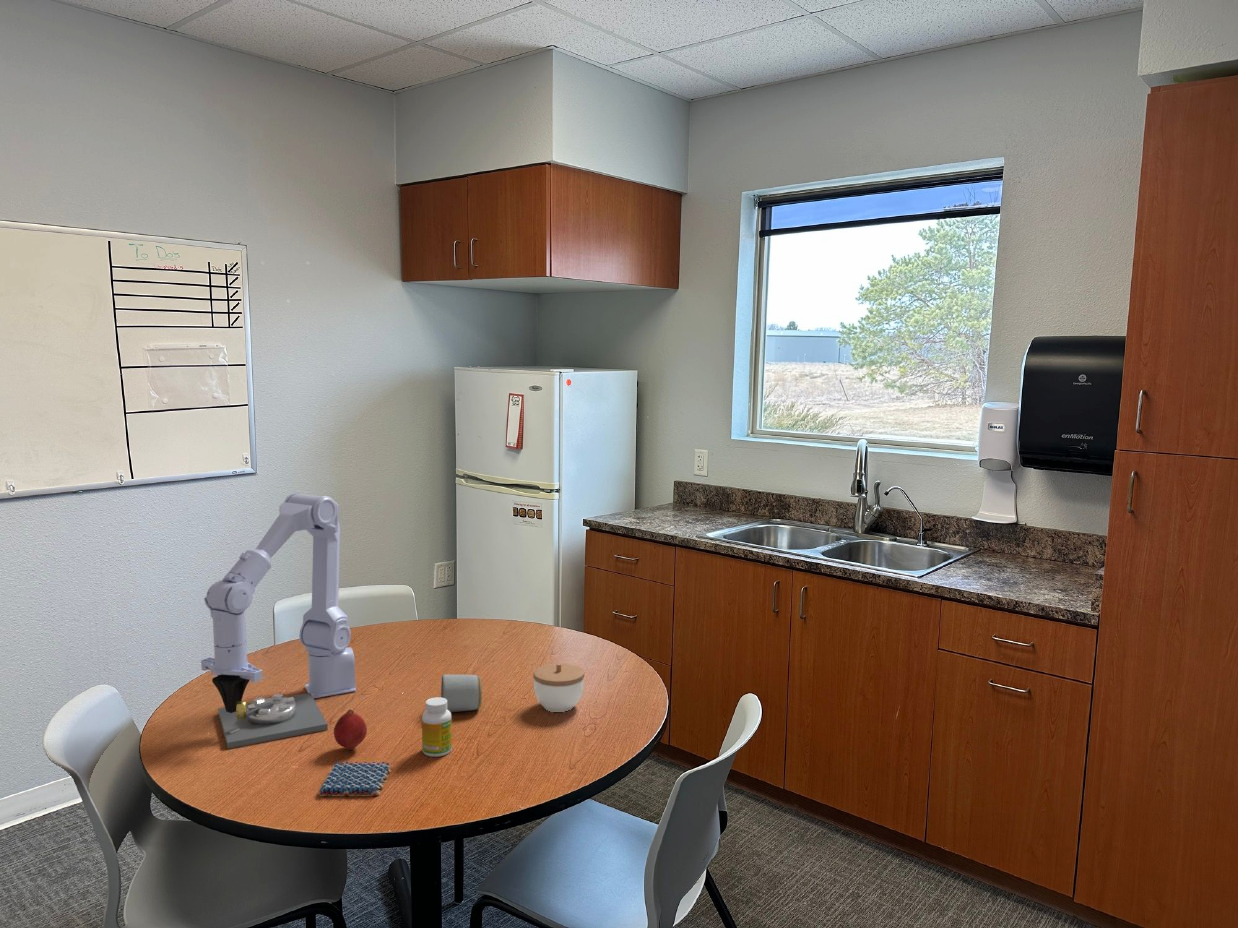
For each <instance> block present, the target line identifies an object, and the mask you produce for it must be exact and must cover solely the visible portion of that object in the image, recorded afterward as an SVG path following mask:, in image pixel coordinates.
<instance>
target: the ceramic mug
mask: <svg viewBox="0 0 1238 928" xmlns="http://www.w3.org/2000/svg"><path fill="white" fill-rule="evenodd" d="M440 685H441V686H440V697H441V698H445V699H446V700H447V710H449V711H450V712H451V713H458V712H459V713H460V712H469V711H470V712H471V711H475V710H478V709H480V708H481V705H482V697H483V695H482V694H483V691H482V678H481V677H480V676H479V675H475V674H442V675H441V684H440Z"/></svg>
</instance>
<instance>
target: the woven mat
mask: <svg viewBox="0 0 1238 928" xmlns="http://www.w3.org/2000/svg"><path fill="white" fill-rule="evenodd" d="M390 767H391V764H390V763H389V762H386V763H385V761H382V762H381V763H380V762H375V761H372V762H368V763H367V761H364V762H363V763H362V762H357V761H355V762H354V763H353V762H350V763H349V762H348V761H345V763H344V762H341V763H340V761H337V762H336V764H334V765H332V767H331V770H329V771H328V774H327V776H326V777H325V780H324V781H323V782H324V783H323V784H322V785H321V787H320V790H319V792H317V794H318V796H320V797H326V798H327V797H378V796H380V795H381V790H382V789H383V788H384V783H385V784H386V783H387V779H388V778H389V776H388V774H390V773H391V771H392V770H391V768H390Z"/></svg>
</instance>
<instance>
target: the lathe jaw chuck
mask: <svg viewBox="0 0 1238 928" xmlns="http://www.w3.org/2000/svg"><path fill="white" fill-rule="evenodd" d="M285 697H286V696H284V694H283V693H282V694H281V693H279V694H278V693H275V694H273V695H272V696H271V697H267V698H265V697H262V696H259V697H256V698H254V699H252V702H251V703H252V704H250V705H247V706H248V707H247V711H246V704H247V701H246V700H242V701H238V702H236V718H237V719H244V718H246V717H247V720H248V721H249V722H250V723H252V724H257V725H271V724H277V723H281V722H284V721H287V720H289V719H291V718H292V717H294V716H295V714H296V707H295V700H294V698H293V697H290V698H285Z"/></svg>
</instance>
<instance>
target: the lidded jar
mask: <svg viewBox="0 0 1238 928" xmlns="http://www.w3.org/2000/svg"><path fill="white" fill-rule="evenodd" d="M532 676H533V688H534V694H535V697H536V699H537V701H538V703H540V705H541V706H542V707H543V708H544V710H545V709H546V711H547V710H548V711H547V712H549V711H550V712H549V713H553V712H563V713H566V712H565V711H568V710H570V711H571V709H572V708H574V707H575V706H576V705H577V704H578V703H579V701H580V700H581V698H582V695H583V691H584V685H585V682H584V680H585V670H584V669H583V668H582V667H580V666H578V665H575V664H572V663H563V662H558V663H557V662H553V663H549V664H544V665H540V666H538V667H537V668H536V669H534V670H533V675H532ZM572 710H573V709H572ZM568 712H569V711H568Z"/></svg>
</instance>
